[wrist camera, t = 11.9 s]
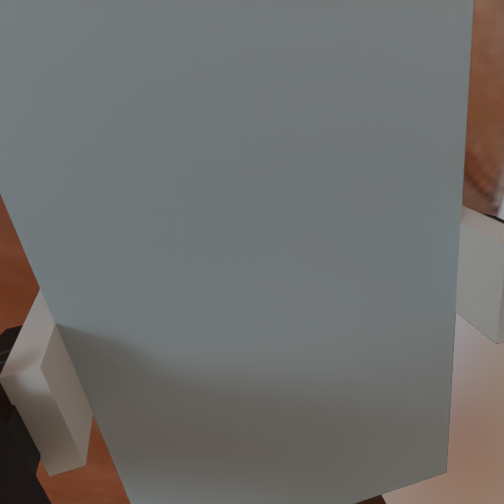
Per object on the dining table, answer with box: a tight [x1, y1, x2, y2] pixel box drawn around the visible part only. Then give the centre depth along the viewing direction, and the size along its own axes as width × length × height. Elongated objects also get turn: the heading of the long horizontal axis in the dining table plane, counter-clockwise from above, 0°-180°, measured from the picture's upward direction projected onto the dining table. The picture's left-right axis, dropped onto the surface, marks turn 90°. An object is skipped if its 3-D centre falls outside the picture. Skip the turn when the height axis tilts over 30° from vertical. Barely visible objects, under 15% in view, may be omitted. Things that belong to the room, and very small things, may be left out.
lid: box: [0, 0, 474, 504], centre depth 13 cm, size 16×10×4 cm, turn 9°
